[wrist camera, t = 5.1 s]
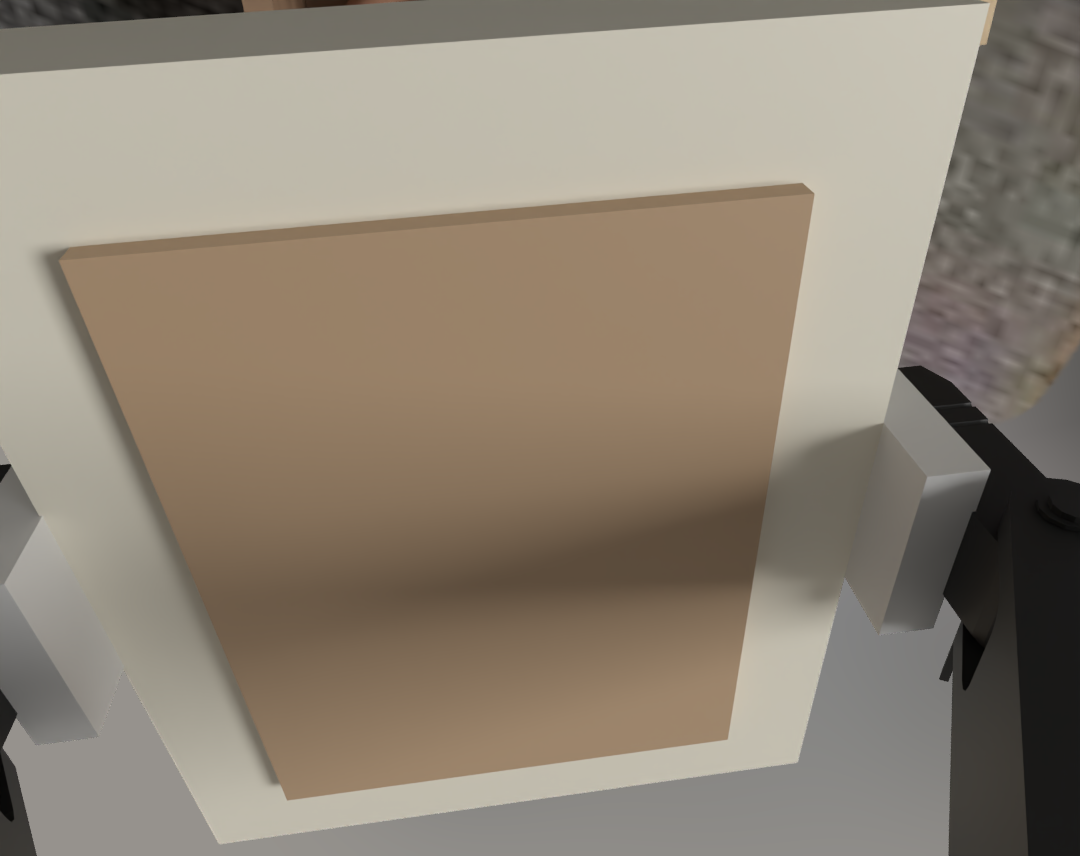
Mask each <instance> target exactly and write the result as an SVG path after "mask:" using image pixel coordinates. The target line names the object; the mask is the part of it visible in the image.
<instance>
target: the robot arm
mask: <svg viewBox="0 0 1080 856" xmlns="http://www.w3.org/2000/svg"><path fill="white" fill-rule="evenodd" d="M845 578H846V580H847V582H848V584H849V585H850V587H851V589H852V590H853V592H854V594H855V595H856V597H857V599H858V601H859V602H860V604H861V606H862V607H863V609H864V611H865V613H866V614H867V616H868V618H869V620H870V621H871V623H872V625H873V626H874V628H875V630H876V631H877V633H878V635H885V634H893V633H900V632H908V631H916V630H924V629H931V628H933V627H934V624H935V621H936V619H937V616H938V613H939V611H940V608H941V605H942V603H943V600H944V597H945V598H946V599H947V601H948V602H949V604H950V605H951V607H952V608H953V609H954V611H955V612H956V614H957V615H958V616H959V618H960V619H961V623H960V626H959V628H958V631H957V634H956V636H955V639H954V641H953V644H952V646H951V649H950V651H949V654H948V656H947V659H946V661H945V664H944V666H943V669H942V672H941V675H940V678H939V679H940V680H944V681H947V682H948V681H949V678H950V676H951V673H952V671H953V683H952V684H953V685H952V686H953V687H952V727H951V728H952V729H951V772H950V773H951V774H950V814H949V856H1080V484H1079V483H1076V482H1072V481H1068V480H1062V479H1052V478H1046V477H1045V476H1044V475H1043V474H1042V473H1041V472H1040V471H1039V470H1038V469H1037V468H1036V467H1035V466H1034V465H1033V464H1032V463H1031V462H1030V461H1029V460H1028V459H1027V458H1026V457H1025V456H1024V455H1023V454H1022V453H1021V452H1020V451H1019V450H1018V449H1017V448H1016V447H1015V446H1014V445H1013V444H1012V443H1011V442H1010V441H1009V440H1008V439H1007V438H1006V437H1005V436H1004V435H1003V434H1002V433H1001V432H1000V431H999V430H998V429H997V428H996V427H995V426H994V425H993V424H992V423H991V424H989V423H988V419H987V418H986V417H985V416H984V415H983V414H982V413H981V412H980V411H979V410H978V409H977V408H976V407H972V406H971V402H970V401H969V400H968V399H967V398H966V397H965V396H964V395H963V394H962V393H961V392H960V390H959V389H958V388H957V387H956V386H955V385H954V384H953V383H952V382H950V381H948V380H946V379H944V378H943V377H941V376H939V375H937V374H935V373H933V372H932V371H930V370H928V369H926V368H924V367H922V366H912V367H903V368H897V372H896V376H895V380H894V384H893V388H892V392H891V396H890V400H889V404H888V408H887V412H886V416H885V420H884V423H883V427H882V431H881V435H880V439H879V443H878V447H877V451H876V455H875V459H874V463H873V467H872V470H871V474H870V478H869V482H868V486H867V490H866V494H865V498H864V502H863V506H862V510H861V514H860V518H859V522H858V526H857V530H856V534H855V538H854V541H853V545H852V549H851V553H850V557H849V561H848V565H847V569H846V573H845ZM123 669H124V665H123V663H122V661H121V659H120V657H119V656H118V654H117V652H116V650H115V648H114V646H113V645H112V643H111V641H110V639H109V637H108V635H107V634H106V632H105V630H104V628H103V626H102V624H101V623H100V621H99V619H98V617H97V615H96V613H95V612H94V610H93V608H92V606H91V604H90V602H89V601H88V599H87V597H86V595H85V593H84V591H83V589H82V588H81V586H80V584H79V582H78V580H77V578H76V577H75V575H74V573H73V571H72V569H71V567H70V566H69V564H68V562H67V560H66V558H65V556H64V555H63V553H62V551H61V549H60V547H59V545H58V544H57V542H56V540H55V538H54V536H53V534H52V533H51V531H50V529H49V527H48V525H47V523H46V522H45V520H44V518H43V516H39V515H38V513H37V511H36V509H35V507H34V506H33V504H32V502H31V500H30V498H29V497H28V495H27V493H26V491H25V489H24V487H23V486H22V484H21V482H20V480H19V478H18V476H17V475H16V473H15V471H14V469H13V467H12V465H11V464H7V465H0V856H37V855H36V851H35V847H34V843H33V838H32V834H31V830H30V826H29V822H28V818H27V813H26V810H25V805H24V801H23V797H22V793H21V788H20V784H19V780H18V776H17V772H16V768H15V766H14V764H13V763H12V761H11V760H10V758H9V756H8V755H7V754H6V752H5V751H4V750H3V748H2V747H3V744H4V742H5V740H6V738H7V736H8V734H9V732H10V729H11V727H12V725H13V723H14V721H15V719H16V718H17V719H18V721H19V722H20V724H21V725H22V726H23V728H24V729H25V731H26V732H27V734H28V735H29V736H30V738H31V739H32V740H33V742H34V743H35V745H41V744H49V743H57V742H64V741H72V740H80V739H88V738H94V737H99V736H100V733H101V730H102V728H103V725H104V722H105V719H106V716H107V714H108V711H109V708H110V705H111V702H112V700H113V697H114V694H115V691H116V688H117V685H118V683H119V680H120V677H121V674H122V671H123Z"/></svg>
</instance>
